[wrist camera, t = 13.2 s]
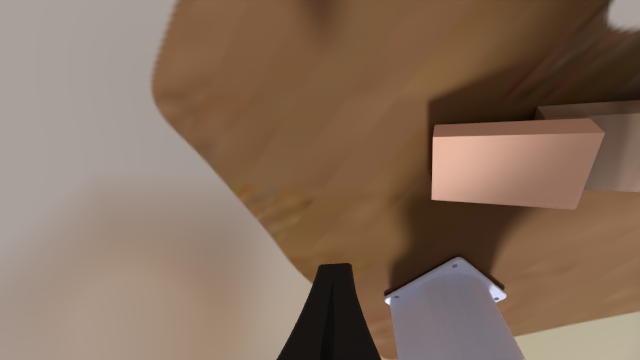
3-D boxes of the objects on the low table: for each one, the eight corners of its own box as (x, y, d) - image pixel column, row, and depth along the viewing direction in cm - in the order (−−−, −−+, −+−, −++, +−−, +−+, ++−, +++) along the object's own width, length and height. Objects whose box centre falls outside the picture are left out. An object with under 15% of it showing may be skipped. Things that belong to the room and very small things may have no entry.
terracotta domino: (431, 199, 19) (575, 209, 16) (433, 137, 17) (605, 132, 13) (433, 184, 21) (564, 190, 17) (434, 124, 18) (589, 118, 15)
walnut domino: (527, 187, 18) (705, 194, 15) (545, 117, 15) (765, 107, 12) (522, 171, 20) (682, 175, 16) (536, 106, 17) (731, 94, 14)
